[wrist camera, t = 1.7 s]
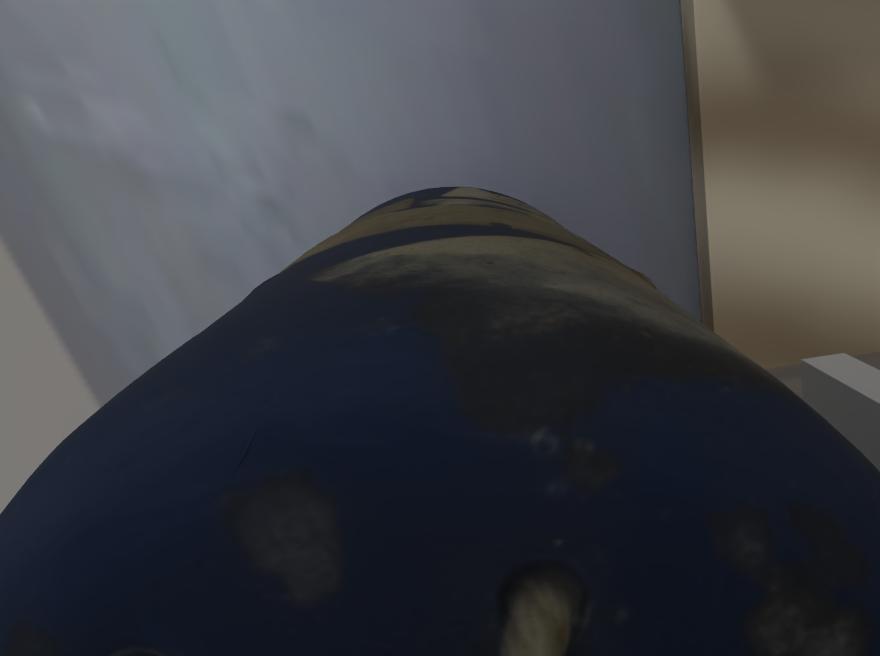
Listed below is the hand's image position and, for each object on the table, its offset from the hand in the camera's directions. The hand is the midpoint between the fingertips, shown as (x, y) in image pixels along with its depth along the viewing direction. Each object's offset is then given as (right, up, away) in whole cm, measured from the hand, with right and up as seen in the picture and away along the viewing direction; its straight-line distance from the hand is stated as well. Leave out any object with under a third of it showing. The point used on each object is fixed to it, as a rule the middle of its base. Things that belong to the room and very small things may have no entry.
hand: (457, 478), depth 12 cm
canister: (0, +3, +9) cm, 10 cm away
